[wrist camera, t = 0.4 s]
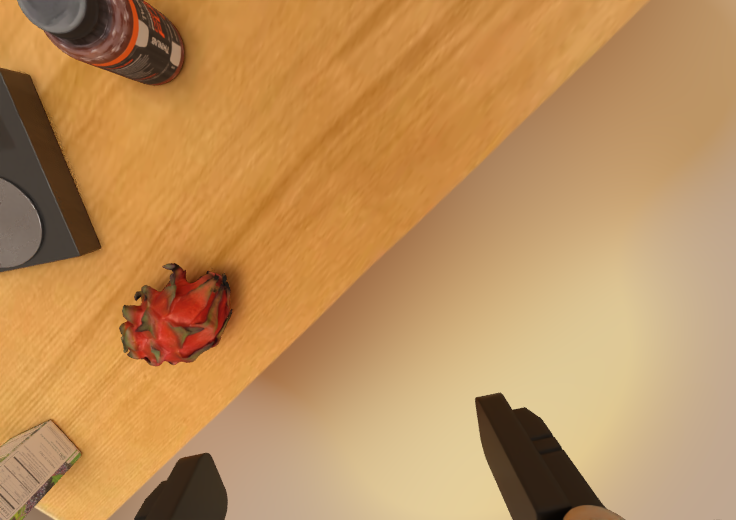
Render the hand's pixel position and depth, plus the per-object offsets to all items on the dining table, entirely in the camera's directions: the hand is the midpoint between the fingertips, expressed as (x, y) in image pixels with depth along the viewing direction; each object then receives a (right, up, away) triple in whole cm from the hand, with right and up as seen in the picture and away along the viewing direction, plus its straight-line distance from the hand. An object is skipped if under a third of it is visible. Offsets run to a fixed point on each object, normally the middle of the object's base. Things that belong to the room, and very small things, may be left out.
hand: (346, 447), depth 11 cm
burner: (-33, +9, +22) cm, 40 cm away
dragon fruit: (-18, +1, +28) cm, 33 cm away
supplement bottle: (-18, +24, +21) cm, 37 cm away
